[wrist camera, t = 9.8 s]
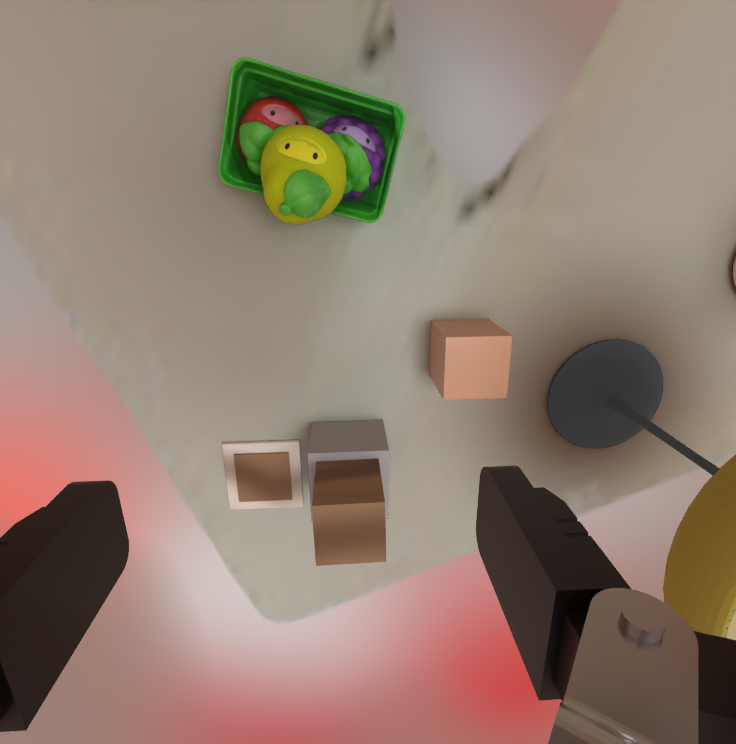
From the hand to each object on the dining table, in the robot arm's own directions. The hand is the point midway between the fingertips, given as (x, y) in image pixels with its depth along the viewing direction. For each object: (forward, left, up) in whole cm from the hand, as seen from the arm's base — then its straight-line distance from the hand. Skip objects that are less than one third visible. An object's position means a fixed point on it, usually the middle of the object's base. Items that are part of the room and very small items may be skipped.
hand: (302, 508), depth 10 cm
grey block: (+15, +1, -30) cm, 34 cm away
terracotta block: (+5, +11, -30) cm, 32 cm away
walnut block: (+15, +1, -24) cm, 28 cm away
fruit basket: (-10, -1, -30) cm, 32 cm away
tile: (+17, -7, -30) cm, 35 cm away
